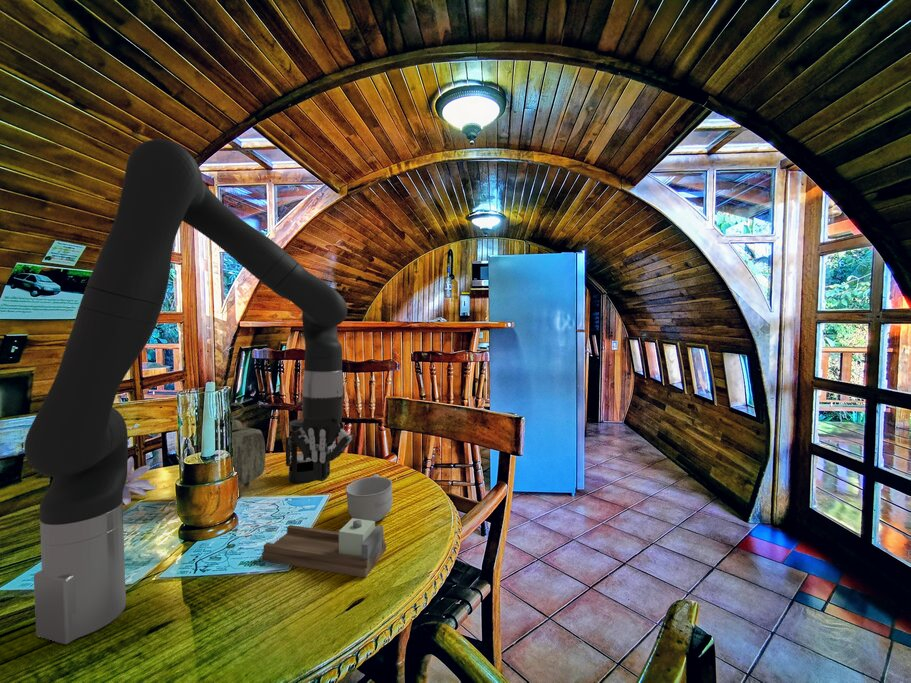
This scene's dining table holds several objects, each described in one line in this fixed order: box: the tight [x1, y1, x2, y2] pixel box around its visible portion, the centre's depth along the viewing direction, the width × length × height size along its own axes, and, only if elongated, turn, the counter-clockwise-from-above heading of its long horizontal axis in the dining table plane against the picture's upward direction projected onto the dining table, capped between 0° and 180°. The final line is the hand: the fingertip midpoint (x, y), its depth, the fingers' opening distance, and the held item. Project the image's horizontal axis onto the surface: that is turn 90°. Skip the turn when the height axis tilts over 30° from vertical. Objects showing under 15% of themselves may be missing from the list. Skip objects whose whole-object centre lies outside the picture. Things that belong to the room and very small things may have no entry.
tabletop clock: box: [230, 402, 266, 499], centre depth 104 cm, size 14×9×25 cm, turn 152°
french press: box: [285, 400, 317, 485], centre depth 117 cm, size 12×9×23 cm
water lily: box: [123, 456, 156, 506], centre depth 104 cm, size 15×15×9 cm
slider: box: [338, 517, 376, 557], centre depth 76 cm, size 5×5×6 cm
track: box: [261, 524, 387, 578], centre depth 78 cm, size 9×22×6 cm, turn 77°
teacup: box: [345, 474, 393, 523], centre depth 95 cm, size 14×11×8 cm
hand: (321, 479), depth 78 cm, fingers closed
